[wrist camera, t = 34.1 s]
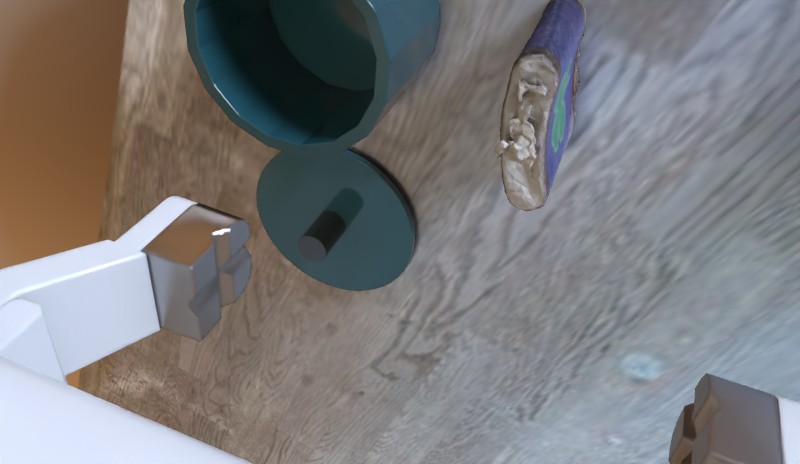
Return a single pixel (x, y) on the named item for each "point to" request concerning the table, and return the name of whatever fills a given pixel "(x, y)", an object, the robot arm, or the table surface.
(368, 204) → the pot lid
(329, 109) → the pot
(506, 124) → the flask
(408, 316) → the table surface
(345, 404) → the table surface
